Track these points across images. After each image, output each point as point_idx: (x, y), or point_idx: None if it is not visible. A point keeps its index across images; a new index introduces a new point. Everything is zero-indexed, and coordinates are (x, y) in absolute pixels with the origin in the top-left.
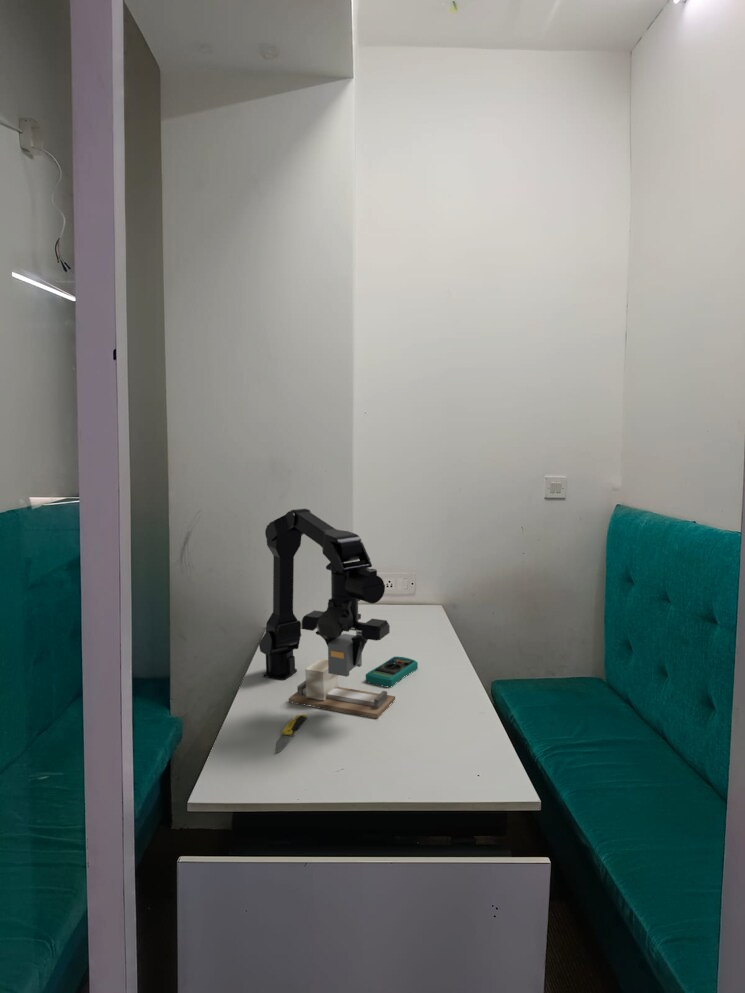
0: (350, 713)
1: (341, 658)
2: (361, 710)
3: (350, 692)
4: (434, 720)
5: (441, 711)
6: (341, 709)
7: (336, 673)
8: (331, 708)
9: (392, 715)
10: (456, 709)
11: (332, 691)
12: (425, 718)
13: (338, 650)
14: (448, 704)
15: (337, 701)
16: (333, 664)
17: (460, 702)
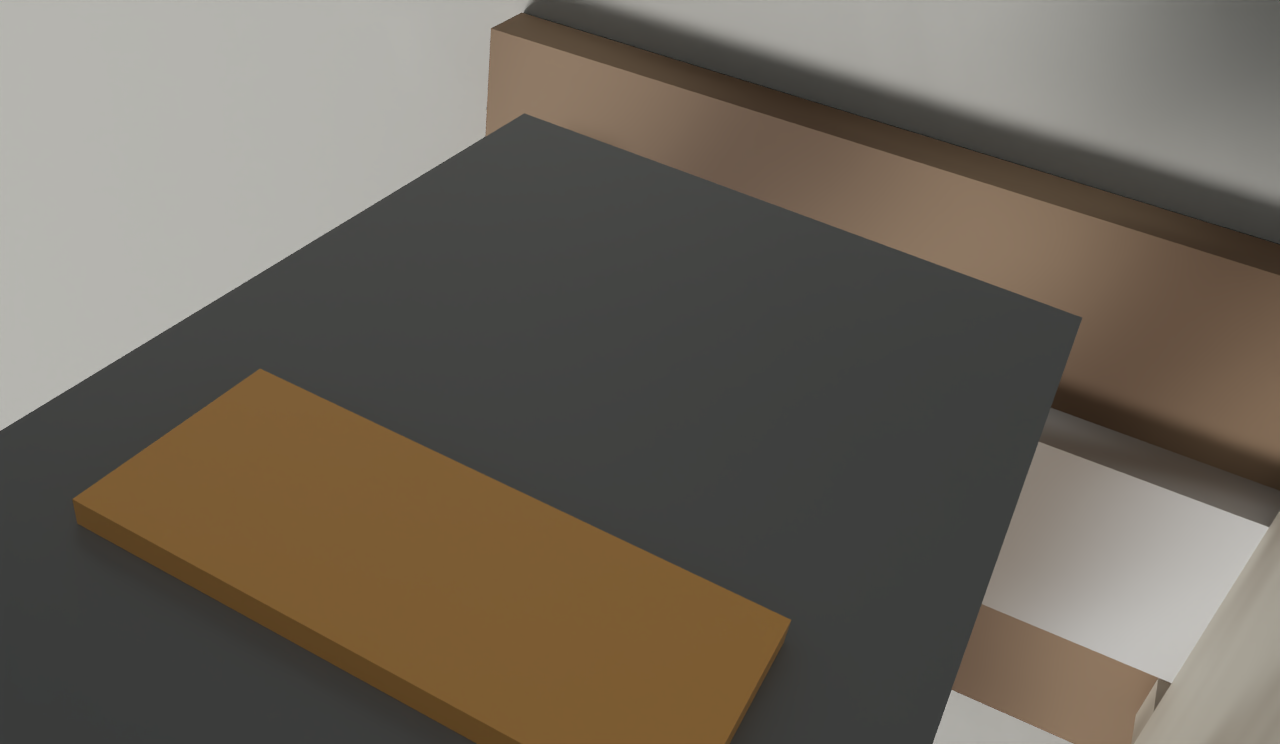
0: (875, 122)
1: (356, 415)
2: (703, 116)
3: None
4: (61, 44)
5: (93, 231)
6: (1005, 176)
7: (806, 238)
8: (1176, 223)
9: (410, 119)
10: (26, 270)
11: (1191, 597)
12: (135, 79)
13: (240, 696)
14: (107, 358)
15: (1094, 385)
16: (805, 400)
17: (58, 389)
